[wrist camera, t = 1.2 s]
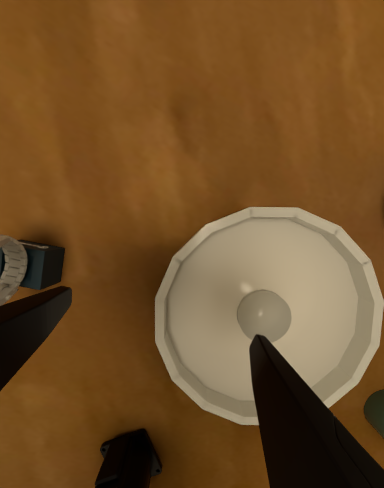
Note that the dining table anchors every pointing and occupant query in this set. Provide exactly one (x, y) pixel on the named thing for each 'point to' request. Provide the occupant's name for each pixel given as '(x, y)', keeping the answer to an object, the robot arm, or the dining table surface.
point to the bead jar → (375, 411)
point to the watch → (27, 266)
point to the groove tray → (267, 307)
